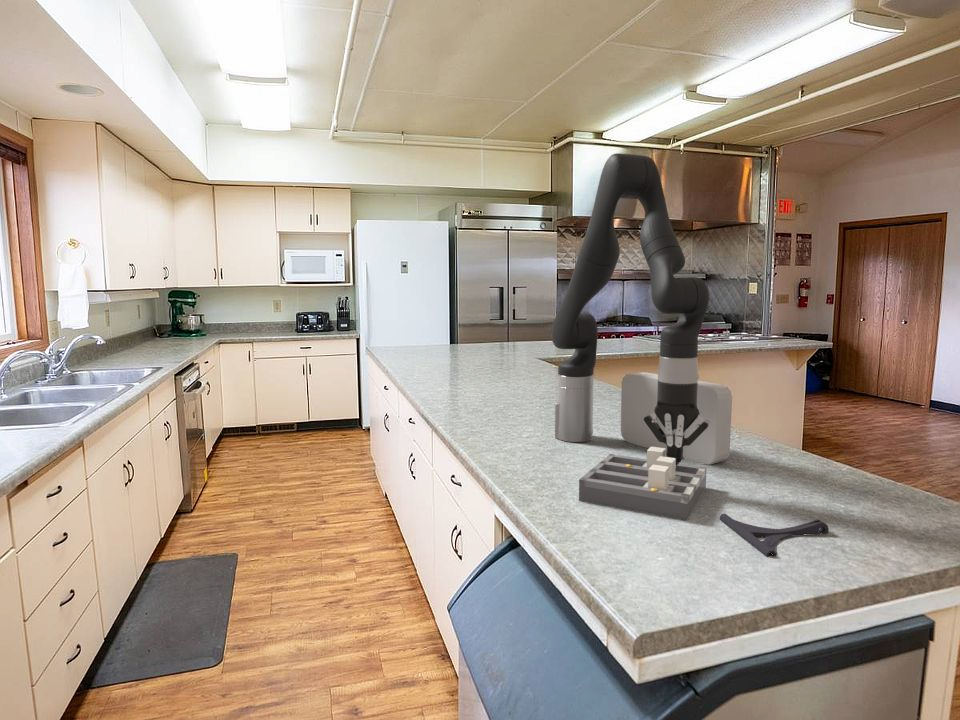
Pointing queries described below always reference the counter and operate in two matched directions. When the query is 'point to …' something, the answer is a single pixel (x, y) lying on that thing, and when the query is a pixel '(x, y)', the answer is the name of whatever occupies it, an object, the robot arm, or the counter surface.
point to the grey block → (705, 449)
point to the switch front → (659, 478)
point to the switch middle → (671, 464)
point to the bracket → (771, 533)
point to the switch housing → (624, 481)
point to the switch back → (654, 455)
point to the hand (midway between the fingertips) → (674, 463)
